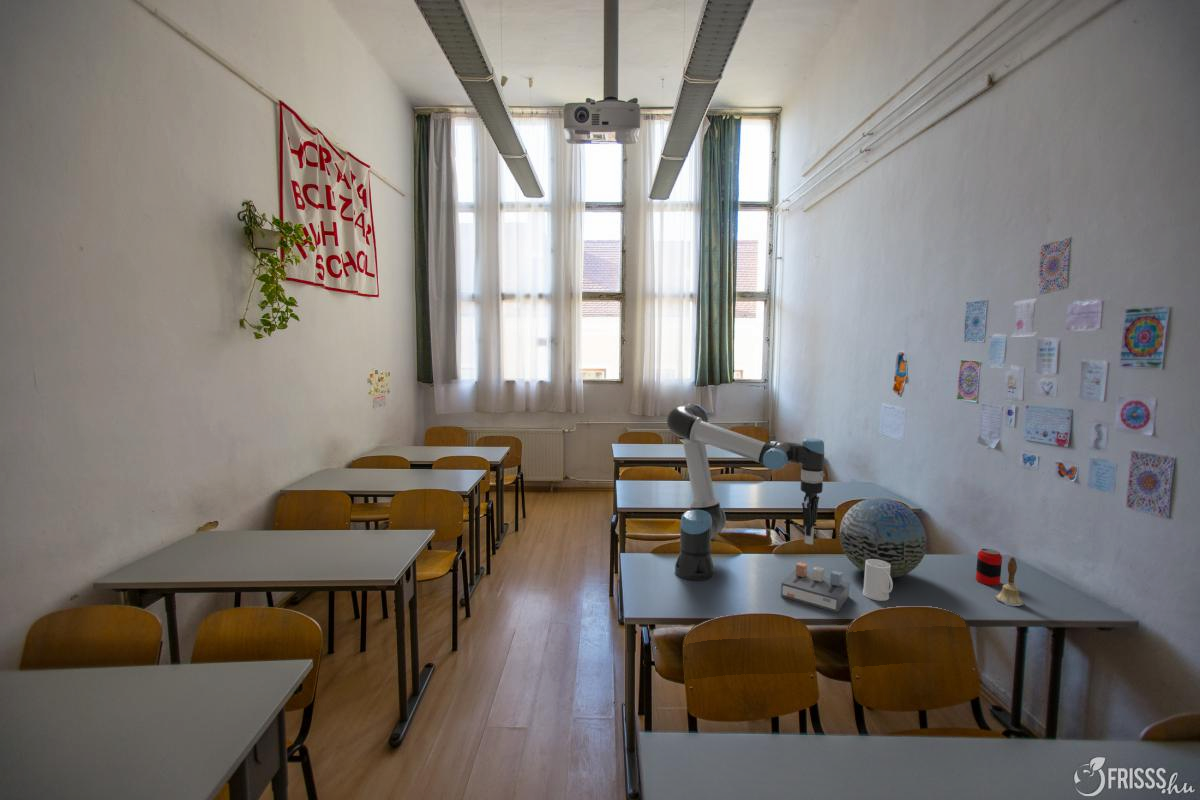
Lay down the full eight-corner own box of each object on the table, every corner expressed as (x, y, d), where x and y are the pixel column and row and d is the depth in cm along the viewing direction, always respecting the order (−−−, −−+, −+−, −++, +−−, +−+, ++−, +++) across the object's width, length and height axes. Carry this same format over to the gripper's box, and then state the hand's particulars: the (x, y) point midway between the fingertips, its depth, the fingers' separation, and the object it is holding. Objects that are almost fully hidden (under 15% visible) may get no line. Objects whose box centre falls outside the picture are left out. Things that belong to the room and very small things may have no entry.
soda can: (981, 576, 218) (983, 546, 216) (1003, 583, 211) (1006, 552, 210) (971, 580, 213) (974, 550, 212) (994, 587, 207) (997, 556, 206)
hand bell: (1016, 609, 191) (1020, 564, 189) (989, 599, 198) (993, 555, 196) (1029, 604, 195) (1033, 559, 193) (1002, 594, 202) (1006, 551, 200)
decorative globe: (938, 579, 214) (944, 503, 211) (897, 599, 197) (903, 516, 194) (864, 554, 238) (868, 485, 235) (821, 569, 222) (825, 495, 218)
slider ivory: (812, 579, 199) (813, 568, 199) (814, 577, 202) (815, 566, 201) (821, 582, 198) (821, 571, 197) (823, 579, 200) (824, 568, 200)
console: (780, 596, 197) (781, 583, 197) (794, 582, 210) (795, 569, 209) (836, 613, 186) (837, 598, 185) (848, 596, 198) (849, 582, 198)
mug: (900, 605, 193) (902, 571, 191) (876, 605, 192) (879, 572, 190) (879, 589, 204) (882, 558, 203) (857, 590, 203) (859, 558, 202)
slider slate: (830, 584, 196) (830, 573, 195) (832, 581, 198) (833, 570, 198) (839, 586, 194) (839, 575, 194) (841, 583, 196) (842, 572, 196)
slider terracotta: (795, 575, 203) (796, 564, 203) (798, 572, 205) (798, 562, 205) (804, 577, 201) (804, 566, 201) (806, 574, 204) (807, 564, 203)
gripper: (816, 486, 197) (813, 550, 200) (827, 479, 208) (824, 540, 210) (795, 482, 202) (792, 545, 204) (806, 476, 212) (804, 536, 215)
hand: (808, 543), depth 207 cm, fingers closed
